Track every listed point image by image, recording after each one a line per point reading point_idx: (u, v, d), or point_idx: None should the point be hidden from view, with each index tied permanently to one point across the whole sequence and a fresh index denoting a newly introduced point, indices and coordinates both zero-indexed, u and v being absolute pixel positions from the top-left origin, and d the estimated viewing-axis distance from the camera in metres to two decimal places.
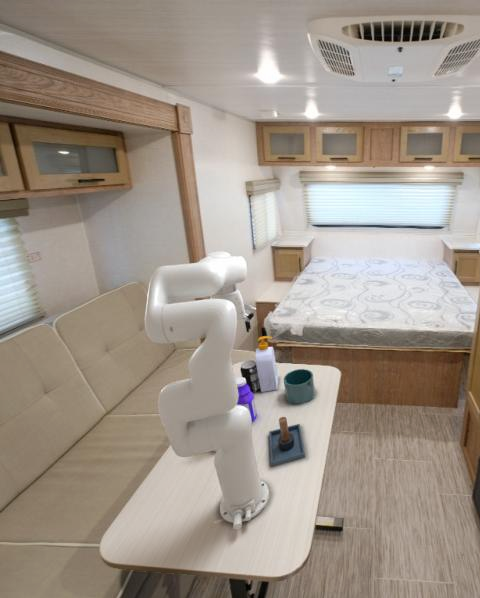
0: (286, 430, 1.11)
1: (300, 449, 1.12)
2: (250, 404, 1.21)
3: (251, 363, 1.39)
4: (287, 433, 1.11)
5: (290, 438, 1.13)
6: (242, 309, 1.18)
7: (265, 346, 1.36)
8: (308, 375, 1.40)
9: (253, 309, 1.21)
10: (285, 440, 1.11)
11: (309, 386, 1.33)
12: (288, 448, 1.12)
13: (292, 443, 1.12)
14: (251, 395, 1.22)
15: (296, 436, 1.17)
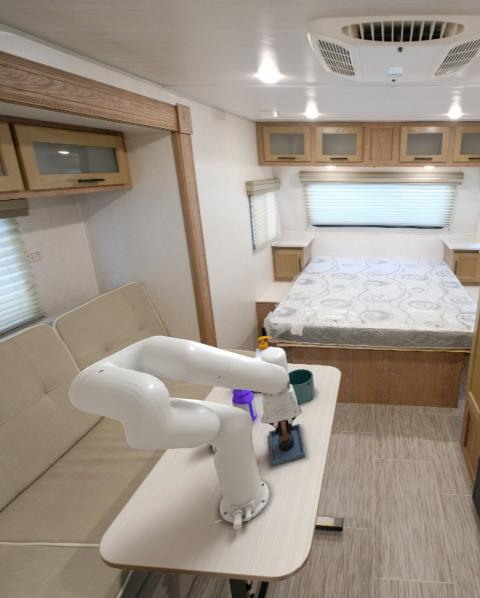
0: (286, 430, 1.11)
1: (300, 449, 1.12)
2: (250, 404, 1.21)
3: None
4: (287, 433, 1.11)
5: (290, 438, 1.13)
6: (296, 407, 1.07)
7: (265, 346, 1.36)
8: (308, 375, 1.40)
9: (300, 411, 1.10)
10: (285, 440, 1.11)
11: (309, 386, 1.33)
12: (288, 448, 1.12)
13: (292, 443, 1.12)
14: (251, 395, 1.22)
15: (296, 436, 1.17)
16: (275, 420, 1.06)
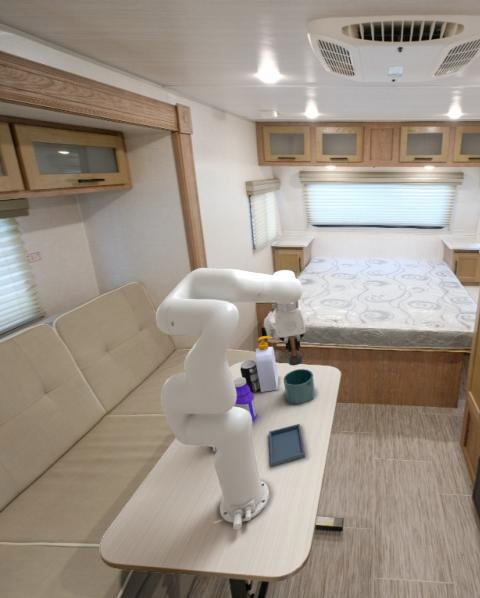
0: (295, 346, 1.27)
1: (300, 449, 1.12)
2: (250, 404, 1.21)
3: (251, 363, 1.39)
4: (295, 349, 1.28)
5: (298, 355, 1.29)
6: (303, 324, 1.23)
7: (265, 346, 1.36)
8: (308, 375, 1.40)
9: (307, 330, 1.27)
10: (294, 356, 1.28)
11: (309, 386, 1.33)
12: (296, 363, 1.28)
13: (300, 359, 1.29)
14: (251, 395, 1.22)
15: (296, 436, 1.17)
16: (285, 335, 1.22)
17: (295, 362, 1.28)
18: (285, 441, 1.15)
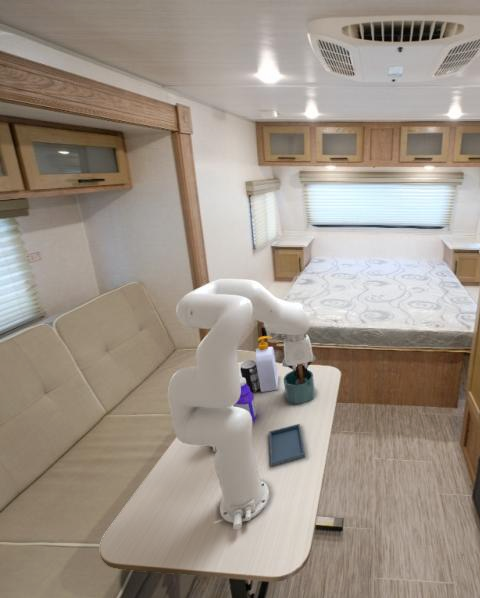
0: (302, 373, 1.33)
1: (300, 449, 1.12)
2: (250, 404, 1.21)
3: (251, 363, 1.39)
4: (303, 376, 1.34)
5: (305, 381, 1.35)
6: (311, 353, 1.30)
7: (265, 346, 1.36)
8: (308, 375, 1.40)
9: (314, 358, 1.33)
10: (301, 382, 1.34)
11: (309, 386, 1.33)
12: None
13: None
14: (251, 395, 1.22)
15: (296, 436, 1.17)
16: (294, 363, 1.28)
17: None
18: (285, 441, 1.15)
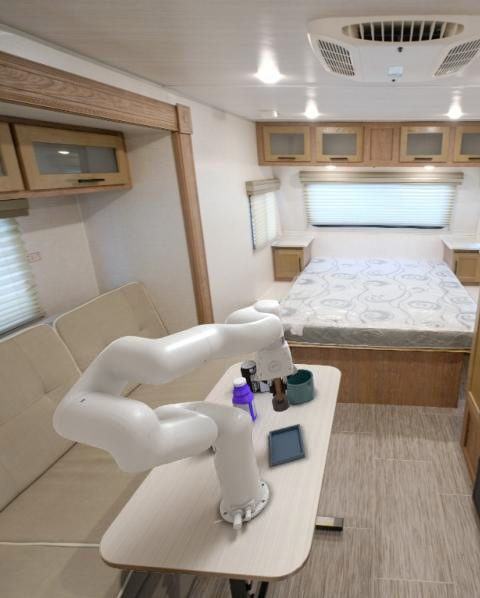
0: (280, 389, 1.05)
1: (300, 449, 1.12)
2: (250, 404, 1.21)
3: (251, 363, 1.39)
4: (281, 393, 1.06)
5: (285, 399, 1.07)
6: (291, 364, 1.02)
7: None
8: (308, 375, 1.40)
9: (295, 370, 1.05)
10: (280, 400, 1.06)
11: (309, 386, 1.33)
12: (283, 409, 1.06)
13: (287, 404, 1.07)
14: (251, 395, 1.22)
15: (296, 436, 1.17)
16: (269, 377, 1.00)
17: (281, 408, 1.06)
18: (285, 441, 1.15)
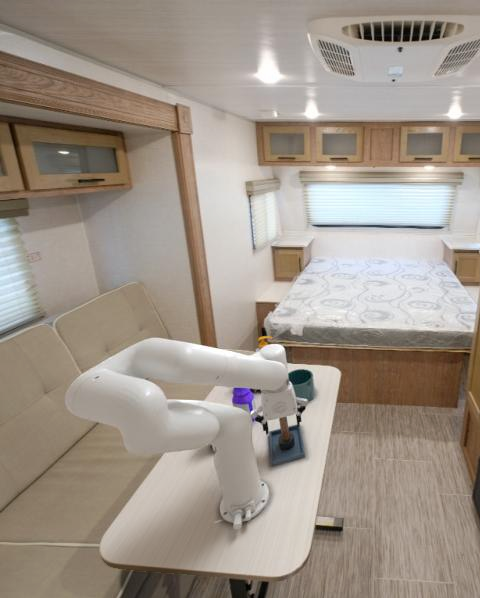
0: (286, 429, 1.11)
1: (300, 449, 1.12)
2: (250, 404, 1.21)
3: None
4: (287, 432, 1.11)
5: (290, 437, 1.13)
6: (295, 404, 1.07)
7: None
8: (308, 375, 1.40)
9: (305, 402, 1.10)
10: (285, 439, 1.12)
11: (309, 386, 1.33)
12: (288, 447, 1.12)
13: (292, 442, 1.13)
14: (251, 395, 1.22)
15: (296, 436, 1.17)
16: (274, 417, 1.05)
17: (287, 447, 1.11)
18: None
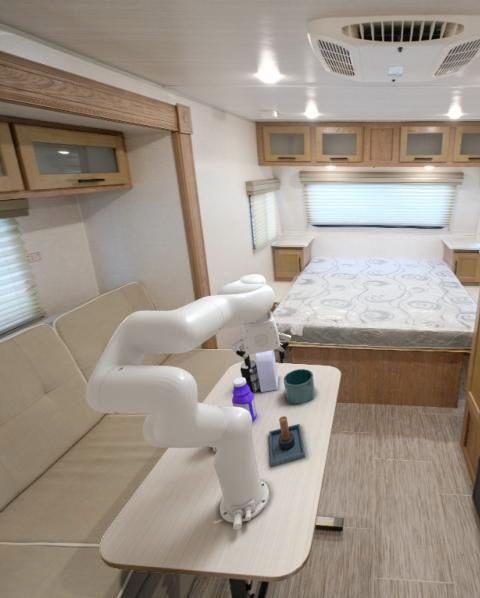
0: (286, 429, 1.11)
1: (300, 449, 1.12)
2: (250, 404, 1.21)
3: (251, 363, 1.39)
4: (287, 432, 1.11)
5: (290, 437, 1.13)
6: (277, 338, 1.05)
7: None
8: (308, 375, 1.40)
9: (288, 337, 1.08)
10: (285, 439, 1.12)
11: (309, 386, 1.33)
12: (288, 447, 1.12)
13: (292, 442, 1.13)
14: (251, 395, 1.22)
15: (296, 436, 1.17)
16: (255, 351, 1.03)
17: (287, 447, 1.11)
18: None
